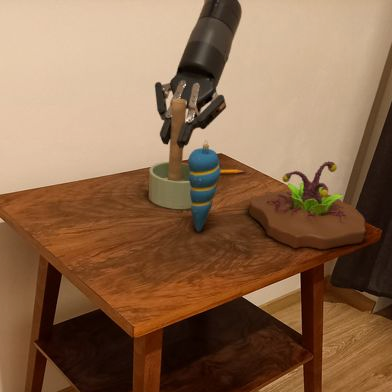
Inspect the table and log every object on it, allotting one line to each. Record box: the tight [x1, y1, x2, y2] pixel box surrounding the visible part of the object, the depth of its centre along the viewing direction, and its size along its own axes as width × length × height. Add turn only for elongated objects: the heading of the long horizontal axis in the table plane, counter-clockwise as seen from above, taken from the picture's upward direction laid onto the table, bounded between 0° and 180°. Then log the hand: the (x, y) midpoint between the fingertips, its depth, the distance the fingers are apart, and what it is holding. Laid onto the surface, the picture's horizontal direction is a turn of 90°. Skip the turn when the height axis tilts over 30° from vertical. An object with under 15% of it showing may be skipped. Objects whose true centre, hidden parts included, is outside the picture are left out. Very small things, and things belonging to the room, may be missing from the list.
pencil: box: [220, 169, 245, 175], centre depth 113 cm, size 1×19×1 cm
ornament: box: [187, 139, 221, 233], centre depth 87 cm, size 5×5×15 cm
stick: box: [164, 99, 187, 182], centre depth 95 cm, size 5×5×15 cm
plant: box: [248, 160, 366, 251], centre depth 94 cm, size 20×20×11 cm
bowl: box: [148, 161, 192, 210], centre depth 100 cm, size 10×10×5 cm
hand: (172, 143), depth 93 cm, fingers closed on stick, 2 cm apart
